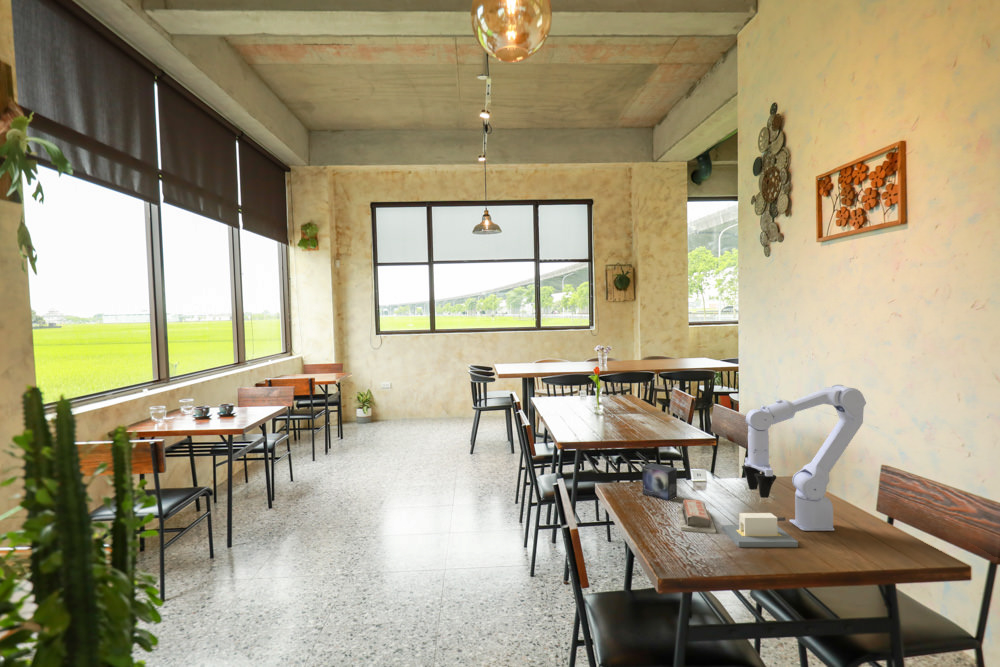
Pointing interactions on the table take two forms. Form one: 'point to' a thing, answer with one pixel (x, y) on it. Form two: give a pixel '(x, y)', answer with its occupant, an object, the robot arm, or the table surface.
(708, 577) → the table surface
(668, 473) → the small box
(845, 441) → the robot arm
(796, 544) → the board
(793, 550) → the table surface
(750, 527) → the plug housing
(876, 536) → the table surface
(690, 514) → the packaged product
